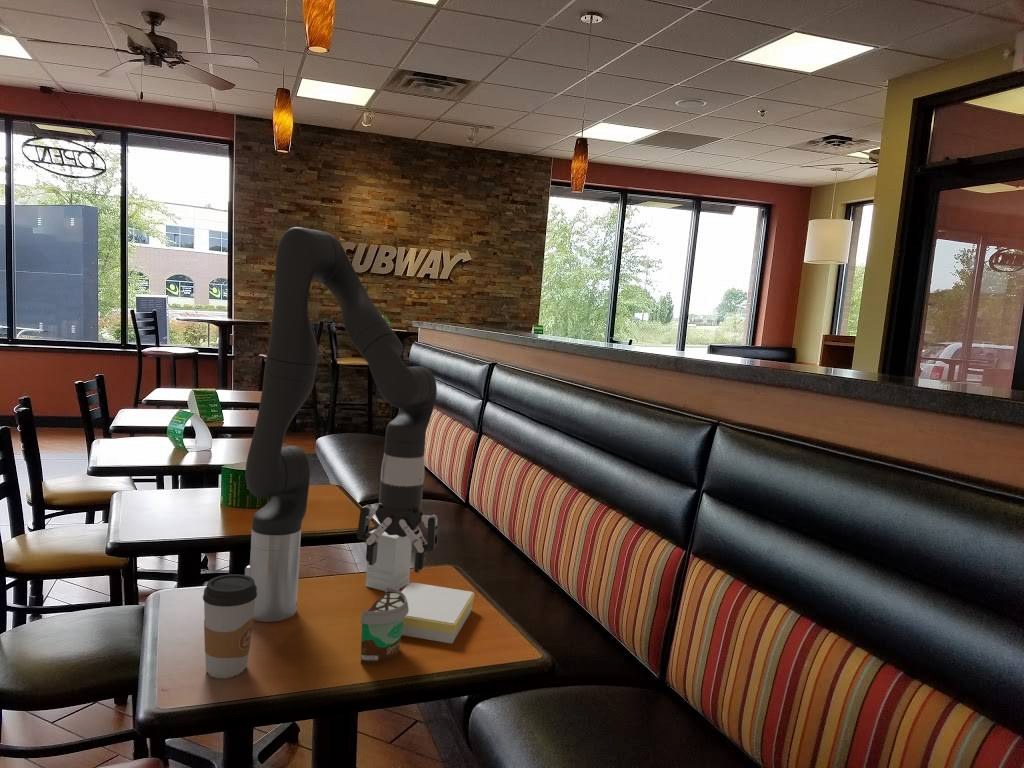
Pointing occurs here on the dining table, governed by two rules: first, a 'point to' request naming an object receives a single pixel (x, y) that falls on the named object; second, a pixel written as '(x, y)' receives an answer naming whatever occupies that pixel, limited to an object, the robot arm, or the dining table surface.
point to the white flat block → (435, 611)
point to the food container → (383, 628)
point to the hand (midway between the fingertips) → (395, 567)
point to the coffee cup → (228, 623)
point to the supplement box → (390, 563)
